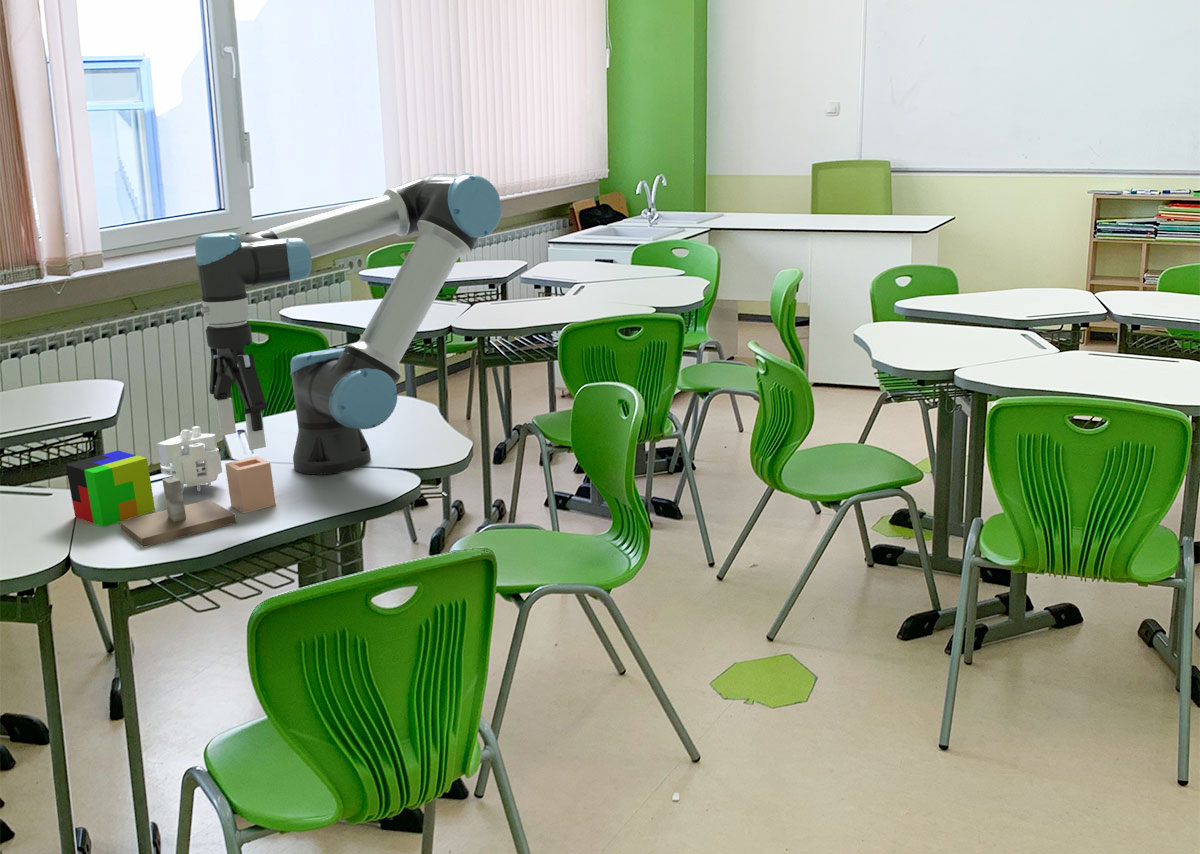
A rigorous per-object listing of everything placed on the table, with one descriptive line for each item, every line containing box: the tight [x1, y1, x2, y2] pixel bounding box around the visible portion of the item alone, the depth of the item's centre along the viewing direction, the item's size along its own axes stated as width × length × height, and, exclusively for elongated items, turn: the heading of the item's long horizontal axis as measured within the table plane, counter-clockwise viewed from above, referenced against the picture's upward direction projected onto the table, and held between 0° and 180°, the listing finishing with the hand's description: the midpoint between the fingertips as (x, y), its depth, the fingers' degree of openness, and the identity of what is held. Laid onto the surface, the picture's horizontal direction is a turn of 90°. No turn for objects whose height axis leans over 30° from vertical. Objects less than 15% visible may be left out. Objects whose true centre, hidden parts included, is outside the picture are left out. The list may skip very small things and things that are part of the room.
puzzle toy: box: [65, 450, 156, 528], centre depth 211 cm, size 10×10×10 cm
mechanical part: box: [156, 425, 223, 493], centre depth 223 cm, size 11×12×12 cm
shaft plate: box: [119, 476, 237, 548], centre depth 202 cm, size 16×12×8 cm
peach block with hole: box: [224, 456, 277, 514], centre depth 211 cm, size 6×6×8 cm
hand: (242, 441), depth 209 cm, fingers open, 13 cm apart
